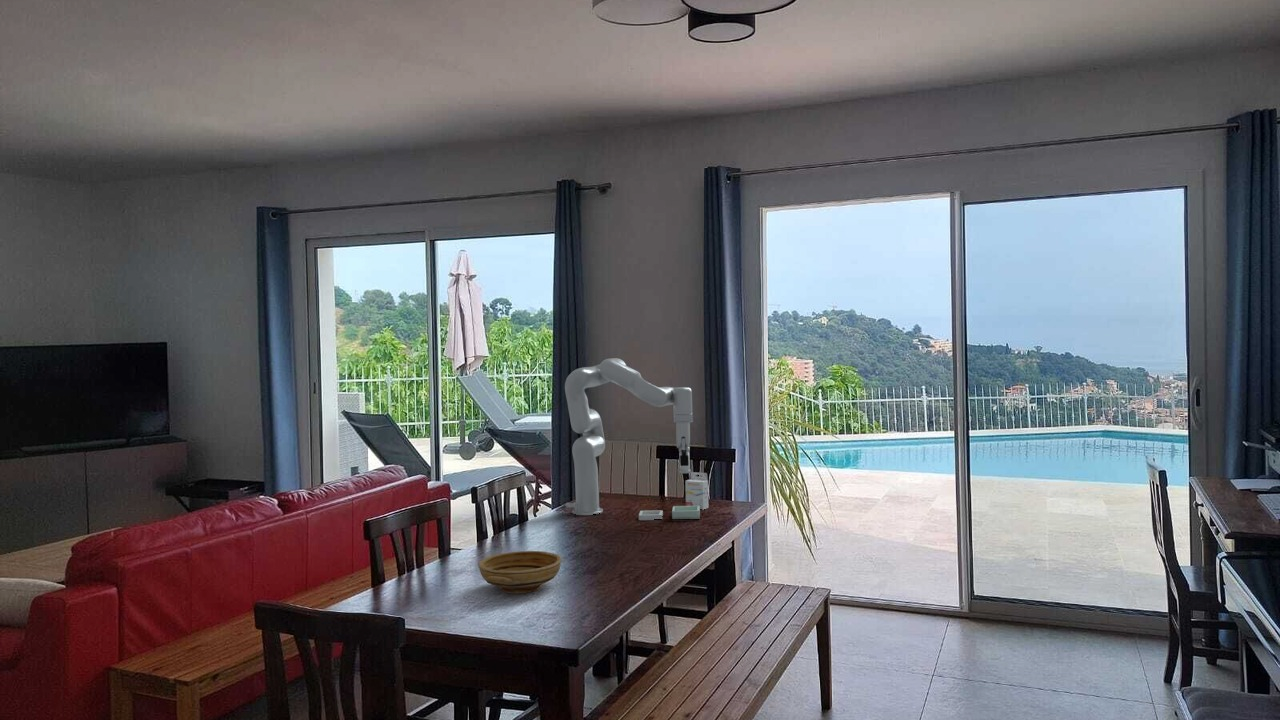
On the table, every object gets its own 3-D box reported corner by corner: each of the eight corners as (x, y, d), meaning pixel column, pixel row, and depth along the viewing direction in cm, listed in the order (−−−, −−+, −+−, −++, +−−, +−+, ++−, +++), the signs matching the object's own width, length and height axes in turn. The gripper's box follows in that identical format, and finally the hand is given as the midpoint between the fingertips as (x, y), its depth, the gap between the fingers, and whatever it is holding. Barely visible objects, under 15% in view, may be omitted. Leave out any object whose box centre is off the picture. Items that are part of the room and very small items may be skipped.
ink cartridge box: (685, 508, 367) (684, 473, 366) (691, 506, 371) (690, 471, 370) (703, 510, 362) (702, 474, 362) (709, 508, 366) (708, 472, 366)
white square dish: (638, 520, 346) (638, 515, 346) (640, 515, 355) (640, 510, 355) (661, 520, 345) (661, 514, 345) (662, 515, 354) (662, 510, 354)
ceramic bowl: (509, 572, 274) (508, 546, 274) (580, 577, 265) (579, 550, 265) (457, 599, 246) (456, 571, 246) (534, 606, 238) (533, 576, 238)
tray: (672, 520, 344) (672, 511, 344) (673, 514, 355) (673, 506, 354) (699, 519, 343) (699, 510, 343) (699, 514, 354) (699, 505, 354)
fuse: (679, 473, 346) (678, 448, 346) (679, 471, 351) (678, 446, 351) (690, 473, 346) (689, 447, 346) (690, 471, 350) (689, 446, 350)
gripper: (674, 416, 357) (676, 462, 357) (672, 420, 340) (674, 468, 340) (693, 416, 356) (694, 461, 356) (692, 420, 339) (693, 467, 340)
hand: (684, 464), depth 348 cm, fingers closed on fuse, 4 cm apart
